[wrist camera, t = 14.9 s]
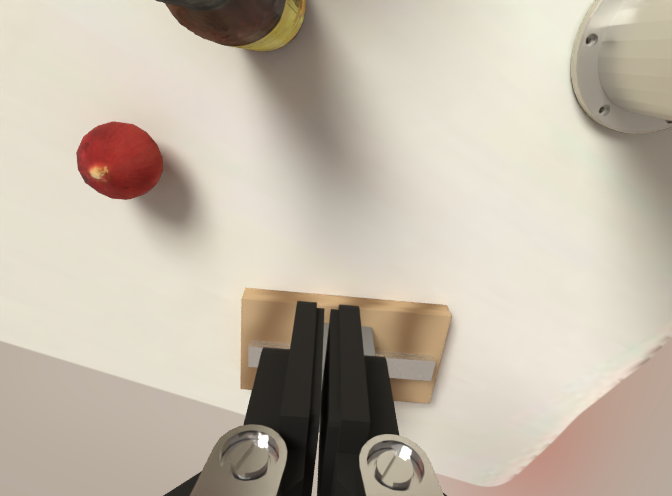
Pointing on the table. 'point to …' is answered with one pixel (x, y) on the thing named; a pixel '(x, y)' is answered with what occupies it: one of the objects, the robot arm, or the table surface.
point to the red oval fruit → (119, 160)
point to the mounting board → (382, 315)
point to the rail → (396, 361)
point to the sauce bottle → (241, 21)
